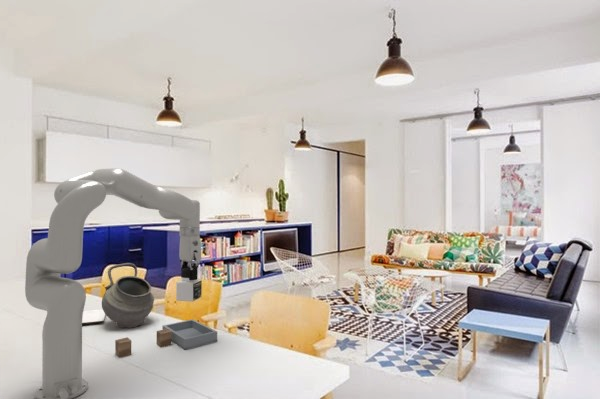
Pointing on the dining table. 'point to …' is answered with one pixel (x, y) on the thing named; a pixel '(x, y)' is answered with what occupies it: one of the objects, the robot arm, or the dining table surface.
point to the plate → (93, 317)
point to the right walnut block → (163, 337)
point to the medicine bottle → (188, 287)
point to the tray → (191, 334)
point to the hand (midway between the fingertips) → (189, 278)
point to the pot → (127, 299)
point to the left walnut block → (123, 347)
